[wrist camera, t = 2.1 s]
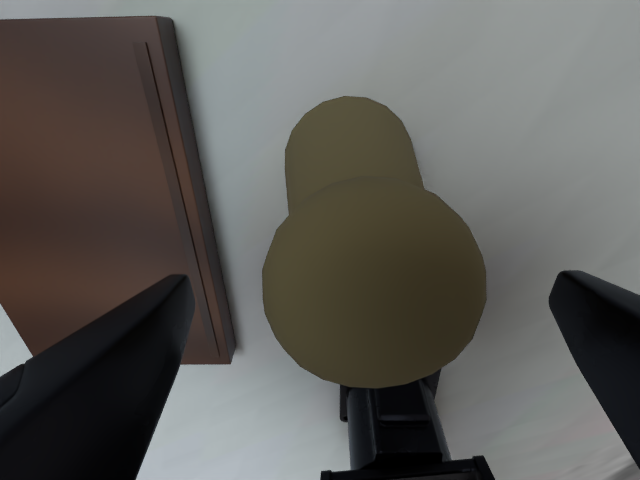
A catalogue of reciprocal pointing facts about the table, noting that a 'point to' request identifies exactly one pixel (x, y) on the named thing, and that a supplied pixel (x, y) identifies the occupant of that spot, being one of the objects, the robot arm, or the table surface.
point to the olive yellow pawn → (368, 255)
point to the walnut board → (101, 179)
